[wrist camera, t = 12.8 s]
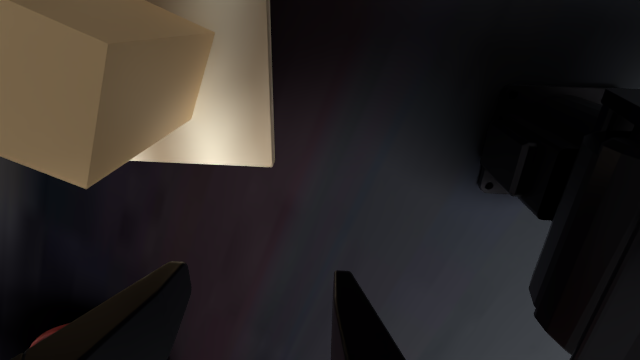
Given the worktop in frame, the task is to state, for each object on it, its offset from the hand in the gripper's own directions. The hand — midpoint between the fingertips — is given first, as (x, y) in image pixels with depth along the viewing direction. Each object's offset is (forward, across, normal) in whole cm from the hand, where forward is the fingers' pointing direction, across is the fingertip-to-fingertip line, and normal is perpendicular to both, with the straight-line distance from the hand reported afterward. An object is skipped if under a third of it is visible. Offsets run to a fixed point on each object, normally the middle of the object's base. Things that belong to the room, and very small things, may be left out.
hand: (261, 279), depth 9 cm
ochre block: (+12, +8, -4) cm, 15 cm away
